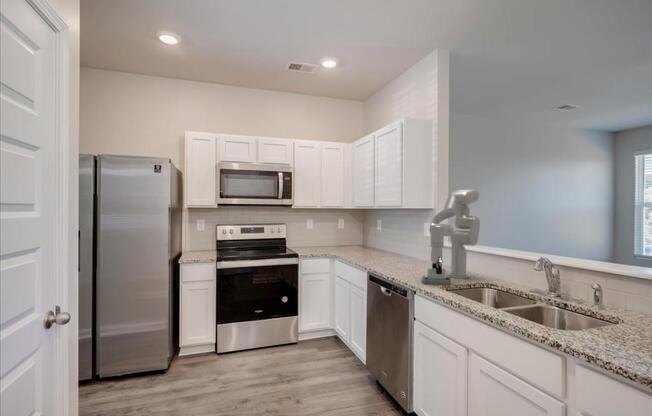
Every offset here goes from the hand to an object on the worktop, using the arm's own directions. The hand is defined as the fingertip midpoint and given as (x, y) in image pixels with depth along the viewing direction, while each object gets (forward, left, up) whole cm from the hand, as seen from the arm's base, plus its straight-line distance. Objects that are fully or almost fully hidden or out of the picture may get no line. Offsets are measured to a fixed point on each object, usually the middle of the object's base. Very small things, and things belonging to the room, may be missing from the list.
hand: (436, 272), depth 203 cm
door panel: (0, 0, -6) cm, 6 cm away
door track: (0, 0, -7) cm, 7 cm away
